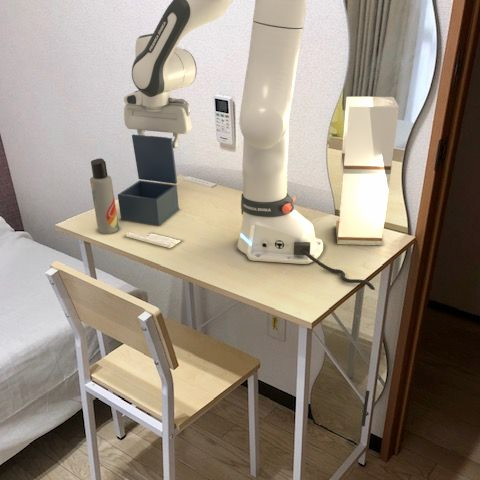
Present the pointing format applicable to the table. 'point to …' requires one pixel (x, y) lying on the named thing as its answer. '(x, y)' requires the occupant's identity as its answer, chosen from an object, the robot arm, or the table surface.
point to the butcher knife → (154, 239)
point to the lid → (155, 158)
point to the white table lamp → (366, 168)
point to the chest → (148, 202)
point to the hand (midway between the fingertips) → (160, 146)
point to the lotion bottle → (103, 197)
